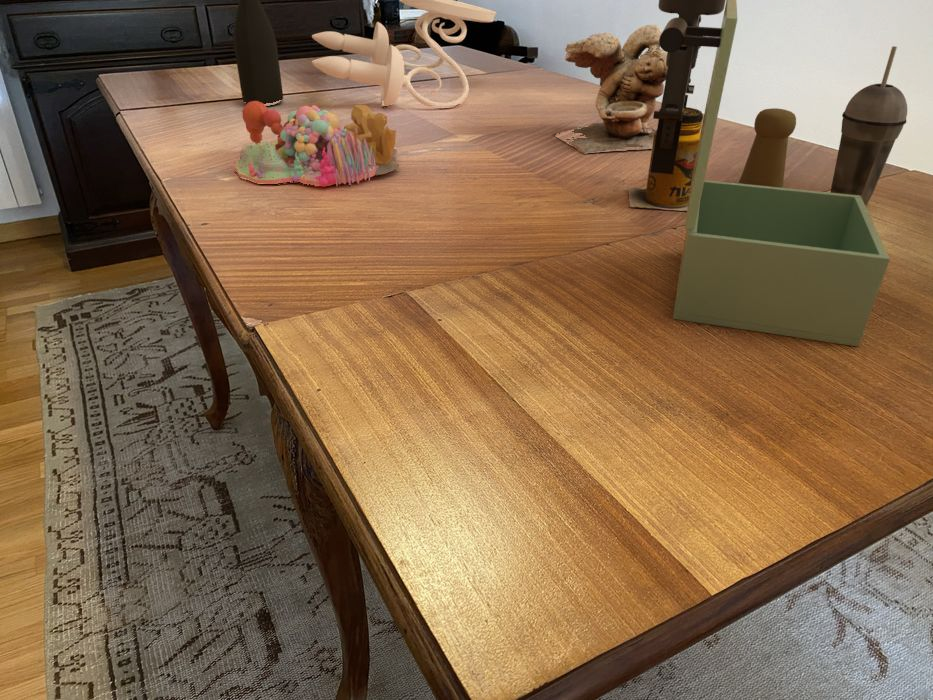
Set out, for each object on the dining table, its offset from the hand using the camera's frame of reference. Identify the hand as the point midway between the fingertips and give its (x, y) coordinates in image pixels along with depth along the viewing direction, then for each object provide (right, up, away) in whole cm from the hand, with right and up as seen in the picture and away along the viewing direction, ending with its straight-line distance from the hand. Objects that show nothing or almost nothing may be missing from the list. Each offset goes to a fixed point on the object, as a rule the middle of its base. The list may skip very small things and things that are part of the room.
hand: (665, 157), depth 93 cm
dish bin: (+4, -20, -20) cm, 29 cm away
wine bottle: (-67, +24, +50) cm, 87 cm away
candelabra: (-39, +32, +63) cm, 81 cm away
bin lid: (-3, -3, -28) cm, 28 cm away
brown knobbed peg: (+15, -3, +7) cm, 17 cm away
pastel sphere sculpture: (-49, +3, +15) cm, 51 cm away
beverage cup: (+25, -6, +2) cm, 26 cm away
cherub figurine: (-2, +11, +29) cm, 31 cm away
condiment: (0, -5, +3) cm, 6 cm away
